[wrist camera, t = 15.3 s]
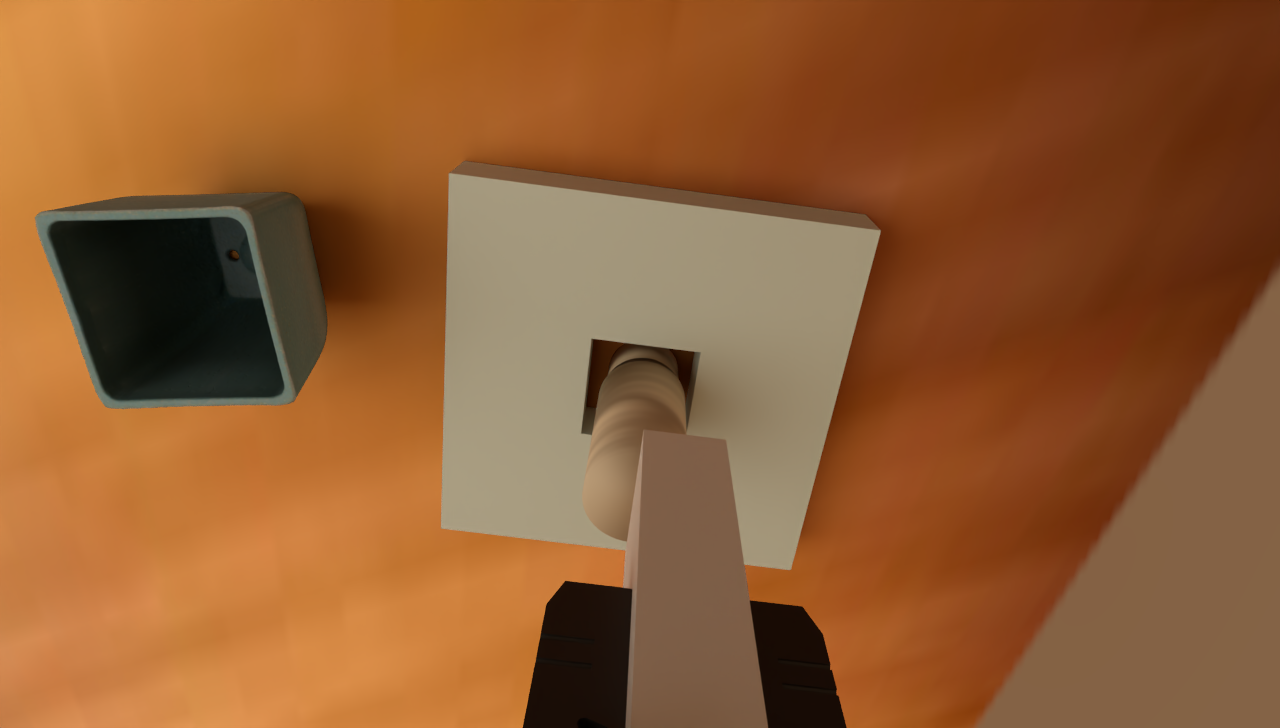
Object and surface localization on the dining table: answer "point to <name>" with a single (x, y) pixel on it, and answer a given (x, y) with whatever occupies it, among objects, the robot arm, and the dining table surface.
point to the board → (638, 340)
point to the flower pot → (190, 296)
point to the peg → (629, 430)
